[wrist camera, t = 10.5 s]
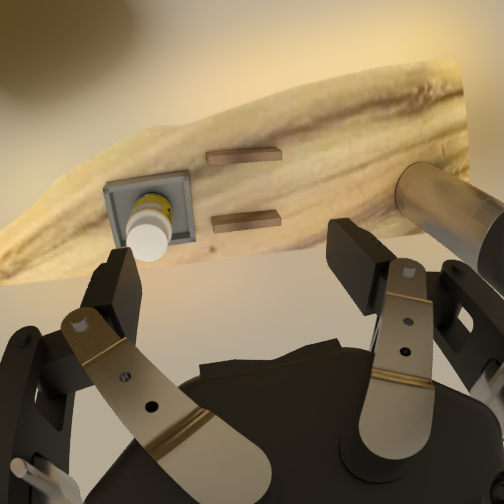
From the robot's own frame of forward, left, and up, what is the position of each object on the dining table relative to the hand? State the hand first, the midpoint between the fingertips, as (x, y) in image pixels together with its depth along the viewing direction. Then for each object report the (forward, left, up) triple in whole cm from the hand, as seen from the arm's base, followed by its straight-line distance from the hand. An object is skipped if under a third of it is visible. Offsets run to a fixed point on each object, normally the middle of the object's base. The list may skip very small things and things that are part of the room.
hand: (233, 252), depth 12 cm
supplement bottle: (+6, +7, -23) cm, 25 cm away
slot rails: (-5, +5, -24) cm, 25 cm away
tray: (+6, +7, -24) cm, 25 cm away
